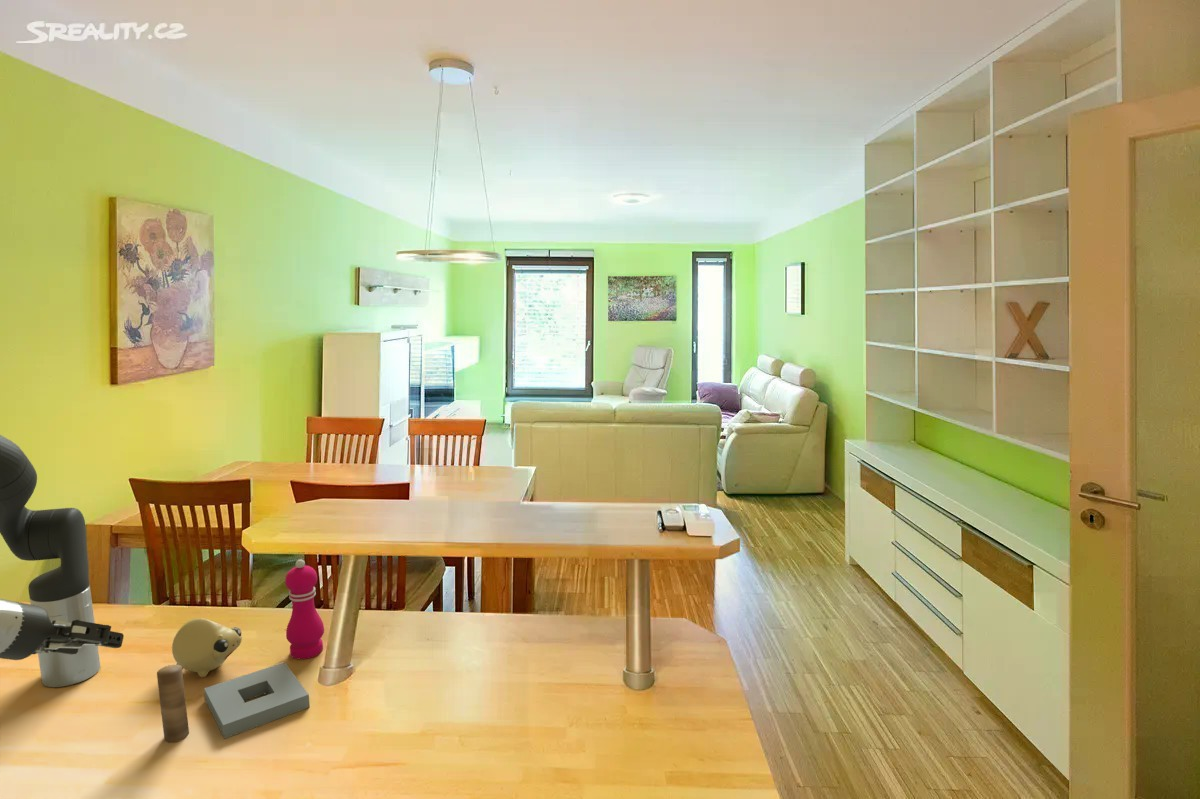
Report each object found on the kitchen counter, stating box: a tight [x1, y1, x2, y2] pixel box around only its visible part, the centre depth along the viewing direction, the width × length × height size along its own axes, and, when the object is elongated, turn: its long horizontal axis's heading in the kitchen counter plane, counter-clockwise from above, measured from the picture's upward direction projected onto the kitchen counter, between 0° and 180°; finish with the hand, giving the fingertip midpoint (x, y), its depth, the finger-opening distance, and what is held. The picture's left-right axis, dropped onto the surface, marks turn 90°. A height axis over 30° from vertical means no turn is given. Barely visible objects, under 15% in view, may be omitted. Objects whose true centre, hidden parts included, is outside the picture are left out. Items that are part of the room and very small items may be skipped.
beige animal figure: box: [171, 617, 243, 678], centre depth 142 cm, size 10×12×11 cm
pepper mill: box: [284, 559, 325, 660], centre depth 148 cm, size 7×7×20 cm
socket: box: [203, 661, 310, 739], centre depth 131 cm, size 14×14×2 cm
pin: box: [156, 664, 190, 743], centre depth 122 cm, size 4×4×12 cm
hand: (98, 644), depth 115 cm, fingers open, 8 cm apart
